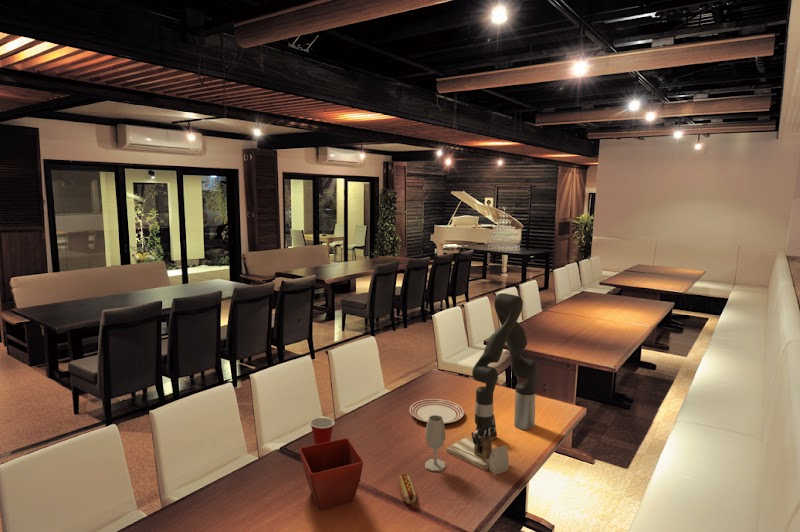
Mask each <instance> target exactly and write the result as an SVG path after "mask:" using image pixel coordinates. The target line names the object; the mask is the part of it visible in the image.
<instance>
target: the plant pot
mask: <svg viewBox="0 0 800 532" xmlns="http://www.w3.org/2000/svg"><path fill="white" fill-rule="evenodd" d="M299 454H300V460H301V463H302V468H303V472H304V474H305V475H304V476H305V478H306V481H307V485H308V487H309V489H310V492H311V495H312V497H313V499H314V502H315V504H316V506H317V509H318V510H320V511H323V510H327V509H330V508H331V509H332V508H334V507H338V506H342V505H345V504H349V503H352V502H353V501H354V499H355V496H356V494H357V491H358V488H359V485H360V482H361V476H362V473H363V472H362V471H363V465H364V460H363V459H362V457H361V456H360V454H359V453H358V451H357V450H356V448H355V447H354V445H353V444H352V442H351V440H350V439H349V438H345V437H344V438H340V439H336V440H330V442H325V443H320V444H316V445H315V444H312V445H307V446H301V447H300V448H299Z"/></svg>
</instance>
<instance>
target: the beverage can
mask: <svg viewBox="0 0 800 532" xmlns="http://www.w3.org/2000/svg"><path fill="white" fill-rule="evenodd" d="M493 424H495V429H494V434H493V438H492V440H493V439H494V440H495V438H497V436H498V432H497V426H496V425H497V424H496V418H495V414H494V413H493ZM490 434H491V432H490Z"/></svg>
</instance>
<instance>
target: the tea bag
mask: <svg viewBox="0 0 800 532" xmlns="http://www.w3.org/2000/svg"><path fill="white" fill-rule="evenodd" d="M492 448H493V447H492ZM509 459H510V458H509V453H508V448H507V444H505V445H500V446H498V447H494V448H493V449H492V452H491V454H490V458H489V468H488V470H489V471H490V472H491V473H492V474H493V473H494V474H493V475H498V474H501V472H502V473H505V472H507V471H509V461H510V460H509Z"/></svg>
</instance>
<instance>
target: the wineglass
mask: <svg viewBox="0 0 800 532" xmlns="http://www.w3.org/2000/svg"><path fill="white" fill-rule="evenodd" d="M425 439H426V443H427V446H428V447H429V448H431V449H432V450H433V458H430V459H428V460H427V461H425V462H424V468H425V469H426V470H428V471H430V472H442V471H443V470H444V469H446V462H445V461H443V460H442V459H439V458H438V450H439V449H440V448H442V447H443V446H444V444H445V440H446V428H445V424H444V421H443V417H442V416H439V415H431V416H430V417H429V418H428V421H427V422H426V427H425Z"/></svg>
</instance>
